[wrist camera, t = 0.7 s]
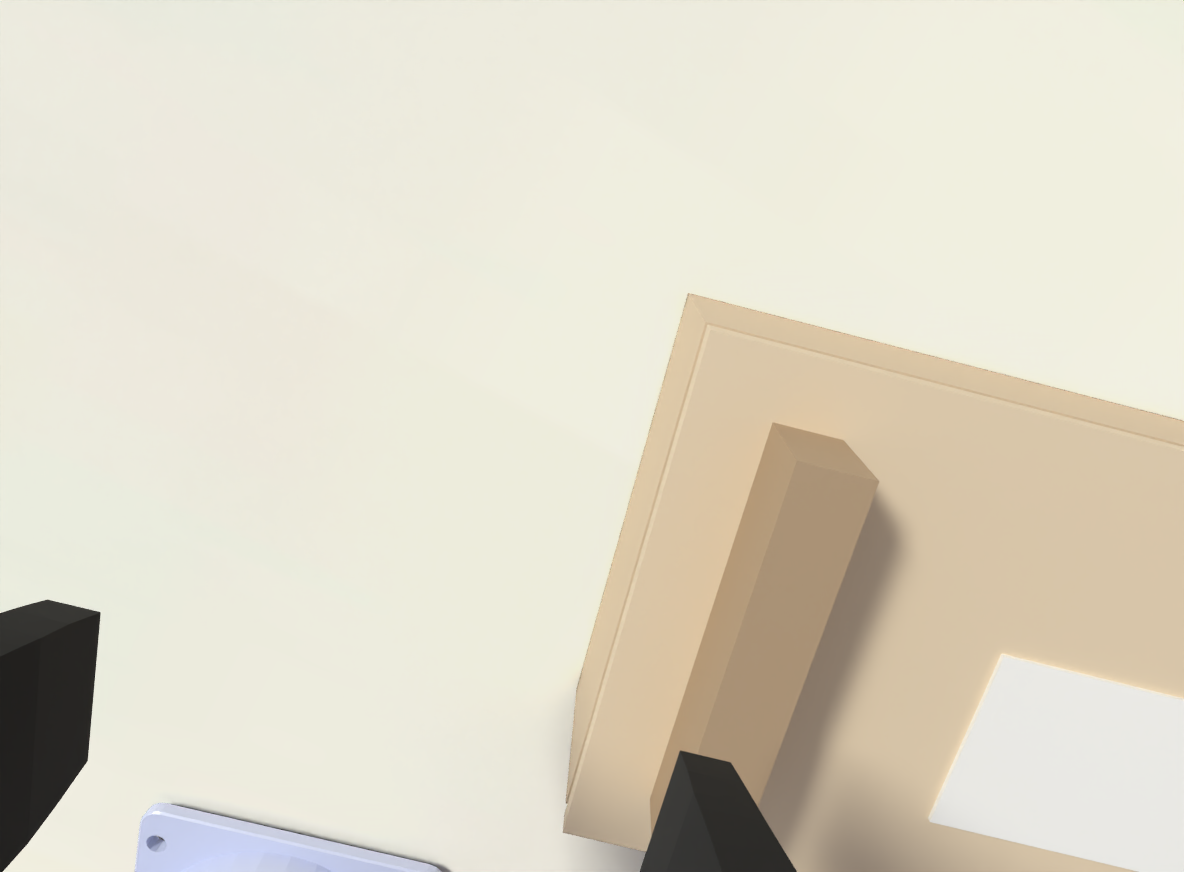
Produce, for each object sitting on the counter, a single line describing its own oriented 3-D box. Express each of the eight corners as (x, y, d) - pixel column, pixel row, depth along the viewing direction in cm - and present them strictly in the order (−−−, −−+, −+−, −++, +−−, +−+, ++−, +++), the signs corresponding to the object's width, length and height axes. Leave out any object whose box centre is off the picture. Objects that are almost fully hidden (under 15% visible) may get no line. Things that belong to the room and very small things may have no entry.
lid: (564, 813, 16) (554, 920, 14) (707, 324, 14) (724, 353, 11) (1233, 971, 17) (1334, 1099, 15) (1505, 529, 14) (1685, 598, 12)
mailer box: (576, 689, 21) (565, 803, 17) (688, 293, 18) (705, 321, 14) (1114, 818, 21) (1223, 957, 17) (1306, 452, 18) (1488, 522, 14)
